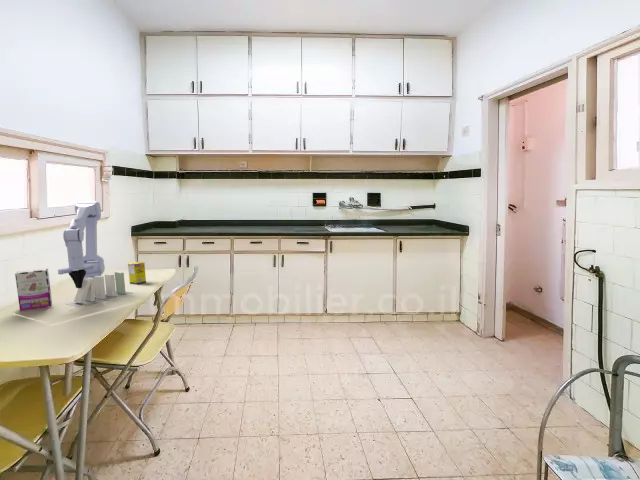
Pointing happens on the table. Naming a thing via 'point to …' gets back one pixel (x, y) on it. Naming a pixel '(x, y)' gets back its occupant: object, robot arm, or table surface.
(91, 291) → the ivory domino
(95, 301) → the slate board
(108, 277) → the ivory domino
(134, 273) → the supplement box
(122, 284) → the sage domino
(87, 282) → the ivory domino
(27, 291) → the candy bar box
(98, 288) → the ivory domino
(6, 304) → the table surface
